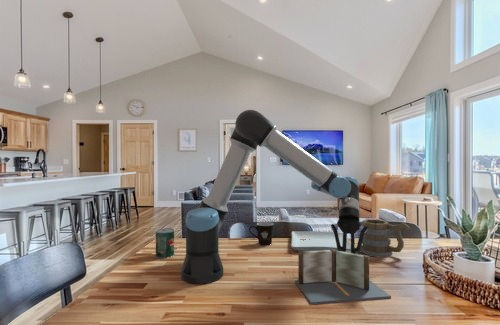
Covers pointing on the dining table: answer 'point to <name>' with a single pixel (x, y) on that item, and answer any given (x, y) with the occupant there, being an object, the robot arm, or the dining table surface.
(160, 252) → the canned tomato
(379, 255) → the tankard
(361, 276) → the folding panel
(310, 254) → the panel
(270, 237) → the coffee mug
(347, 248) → the square plate
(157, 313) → the dining table surface
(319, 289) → the card
